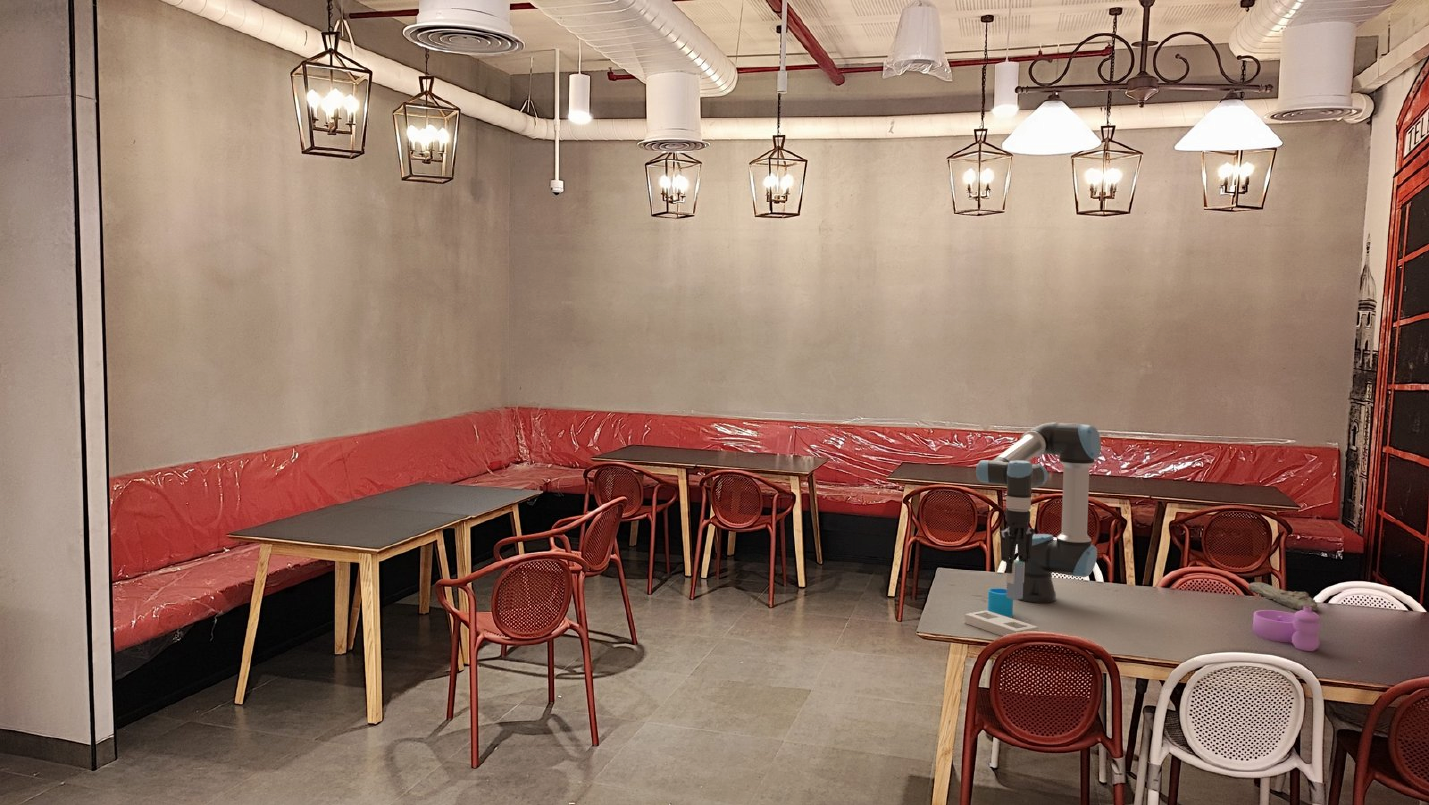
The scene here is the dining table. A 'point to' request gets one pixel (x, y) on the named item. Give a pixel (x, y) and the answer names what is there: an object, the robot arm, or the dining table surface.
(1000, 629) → the port panel
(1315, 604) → the long grey stone
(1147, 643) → the dining table surface
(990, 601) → the mug
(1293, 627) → the container set
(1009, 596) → the plug
